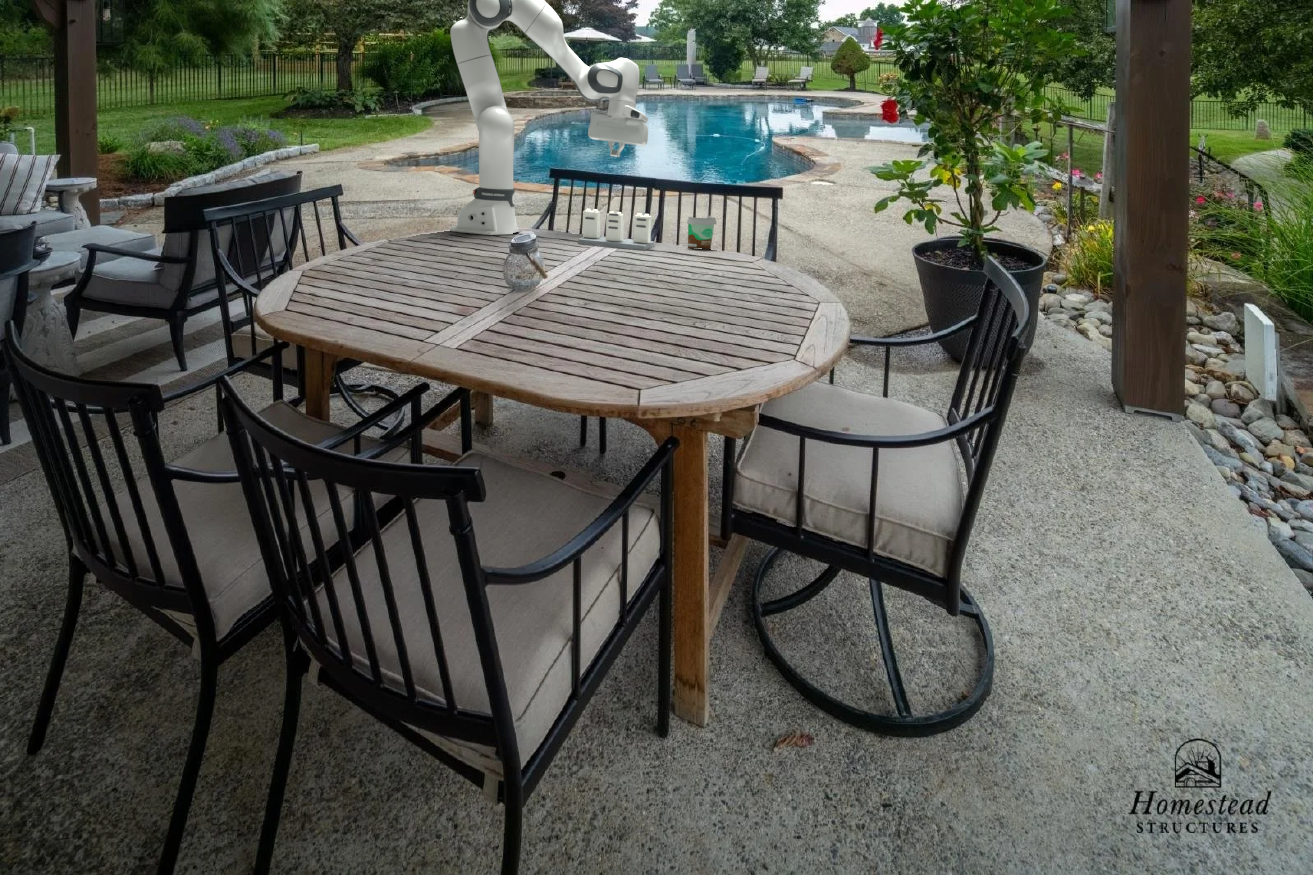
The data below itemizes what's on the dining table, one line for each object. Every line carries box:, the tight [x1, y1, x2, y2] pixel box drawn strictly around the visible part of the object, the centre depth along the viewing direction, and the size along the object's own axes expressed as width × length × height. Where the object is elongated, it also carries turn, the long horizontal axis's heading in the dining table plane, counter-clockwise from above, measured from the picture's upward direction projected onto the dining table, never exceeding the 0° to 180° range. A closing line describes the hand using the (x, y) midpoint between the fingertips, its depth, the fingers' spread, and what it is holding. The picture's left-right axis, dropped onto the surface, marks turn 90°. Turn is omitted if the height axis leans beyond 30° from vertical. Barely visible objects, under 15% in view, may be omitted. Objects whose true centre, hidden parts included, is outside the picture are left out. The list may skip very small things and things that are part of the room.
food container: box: [686, 215, 717, 250], centre depth 245 cm, size 12×6×10 cm, turn 143°
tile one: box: [582, 208, 602, 238], centre depth 241 cm, size 5×3×9 cm
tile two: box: [632, 212, 653, 243], centre depth 238 cm, size 5×3×9 cm
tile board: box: [577, 235, 655, 252], centre depth 242 cm, size 22×12×2 cm, turn 76°
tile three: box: [605, 210, 625, 241], centre depth 238 cm, size 5×3×9 cm
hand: (614, 156), depth 252 cm, fingers closed
